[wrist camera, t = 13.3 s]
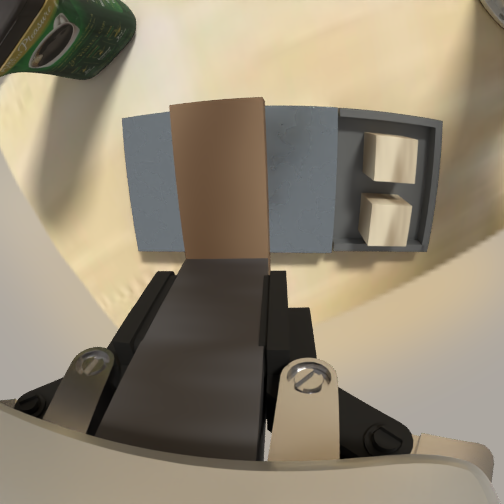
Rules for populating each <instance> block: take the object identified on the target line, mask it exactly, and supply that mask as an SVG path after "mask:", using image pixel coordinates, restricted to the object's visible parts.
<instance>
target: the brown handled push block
mask: <svg viewBox="0 0 504 504" xmlns="http://www.w3.org/2000/svg"><path fill="white" fill-rule="evenodd" d="M169 106H170V120H171V133H172V145H173V156H174V166H175V176H176V185H177V194H178V203H179V211H180V219H181V227H182V234H183V242H184V249H185V256H186V260H185V262H184V263H183V265H182V267H181V269H180V270H179V272H178V274H177V277H176V279H175V281H174V283H173V284H172V286H171V288H170V290H169V292H168V294H167V295H166V297H165V299H164V301H163V303H162V305H161V306H160V308H159V310H158V312H157V314H156V316H155V318H154V319H153V321H152V323H151V325H150V327H149V329H148V331H147V333H146V335H145V337H144V339H143V340H142V341H141V342H140V344H139V346H138V348H137V350H136V352H135V354H134V356H133V358H132V360H131V362H130V364H129V366H128V368H127V369H126V371H125V373H124V375H123V377H122V379H121V381H120V384H119V386H118V388H117V390H116V392H115V394H114V396H113V398H112V400H111V402H110V404H109V406H108V408H107V410H106V412H105V415H104V417H103V419H102V421H101V423H100V425H99V427H98V430H97V432H96V434H95V436H94V437H98V438H102V439H105V440H109V441H113V442H117V443H122V444H126V445H131V446H135V447H140V448H145V449H150V450H156V451H162V452H168V453H174V454H181V455H188V456H197V457H205V458H215V459H227V460H243V461H264V443H265V424H266V419H265V390H264V359H263V348H264V346H259V333H260V320H261V307H262V294H263V280H264V275H270V234H269V200H268V170H267V144H266V120H265V101H264V99H263V97H254V98H236V99H222V100H211V101H201V102H192V103H183V104H175V105H169Z"/></svg>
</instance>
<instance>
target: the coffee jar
mask: <svg viewBox="0 0 504 504" xmlns="http://www.w3.org/2000/svg"><path fill="white" fill-rule="evenodd" d="M135 30H136V19H135V16H134V14H133V13H132V11H131V10H130V9H129V8H128V7H127V6H126V5H125V4H124V3H123V2H122V1H120V0H0V77H1V76H4V75H7V74H11V73H17V72H33V73H42V74H50V75H56V76H61V77H66V78H72V79H80V80H86V79H89V78H92V77H93V76H95V75H96V74H98V73H99V72H100V71H101V70H102V69H103V68H104V67H106V66H107V65H108V64H109V63H110V62H111V61H112V60H113V59H114V58H115V57H116V56H117V55H118V54H119V52H120V51H121V50H122V49H123V48H124V47H125V46H126V45H127V43H128V42H129V41H130V40H131V38H132V37H133V35H134V32H135Z"/></svg>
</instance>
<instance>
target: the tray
mask: <svg viewBox="0 0 504 504" xmlns="http://www.w3.org/2000/svg"><path fill="white" fill-rule="evenodd" d="M442 126H443V121H440V120H435V119H429V118H423V117H417V116H410V115H403V114H396V113H388V112H380V111H370V110H360V109H348V108H338V143H337V175H336V196H335V213H334V228H333V241H332V248H333V251H396V252H427V249H428V244H429V239H430V233H431V228H432V222H433V216H434V209H435V202H436V195H437V187H438V179H439V169H440V158H441V145H442ZM364 132H369V133H380V134H389V135H398V136H404V137H408V138H412V139H416V140H418V150H417V164H416V175H415V184H410V183H397V182H383V181H373V180H372V179H371V178H370V177H368V176H367V175H366V174H364V173H363V172H362V171H363V151H364ZM361 193H377V194H395V195H399V196H400V197H401V198H402V199H404V200H405V201H406V202H408V203H409V204H410V205H411V206H412V212H411V219H410V225H409V232H408V238H407V244H406V246H367V244H366V242H365V241H364V239H363V237H362V236H361V234H360V233H359V231H358V225H359V215H360V203H361Z"/></svg>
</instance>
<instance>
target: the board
mask: <svg viewBox="0 0 504 504" xmlns="http://www.w3.org/2000/svg"><path fill="white" fill-rule="evenodd" d="M265 120H266V144H267V170H268V200H269V234H270V252H283V253H331V252H332V241H333V228H334V213H335V196H336V175H337V143H338V108H336V107H317V106H265ZM122 126H123V139H124V150H125V160H126V169H127V178H128V186H129V193H130V201H131V208H132V214H133V221H134V227H135V233H136V239H137V245H138V250H139V251H176V252H185V249H184V242H183V234H182V227H181V219H180V211H179V203H178V194H177V185H176V176H175V166H174V156H173V145H172V133H171V120H170V112H163V113H156V114H148V115H141V116H134V117H128V118H122Z"/></svg>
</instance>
